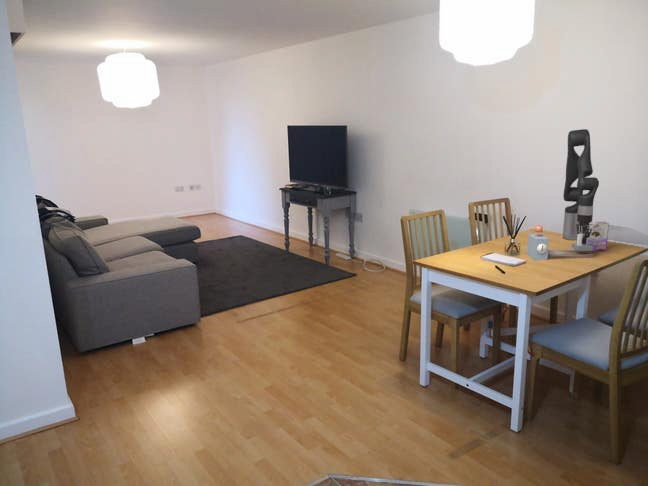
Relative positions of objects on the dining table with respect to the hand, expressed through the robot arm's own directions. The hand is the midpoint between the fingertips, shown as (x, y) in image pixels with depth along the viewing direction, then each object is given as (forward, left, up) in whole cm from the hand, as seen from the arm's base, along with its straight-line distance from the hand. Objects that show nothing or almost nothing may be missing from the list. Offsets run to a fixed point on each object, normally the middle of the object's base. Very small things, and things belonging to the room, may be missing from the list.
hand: (582, 243), depth 281 cm
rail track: (0, -8, -7) cm, 11 cm away
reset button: (0, -25, +8) cm, 26 cm away
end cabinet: (0, -25, -7) cm, 26 cm away
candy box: (-12, +12, -7) cm, 19 cm away
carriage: (0, 0, -3) cm, 3 cm away
